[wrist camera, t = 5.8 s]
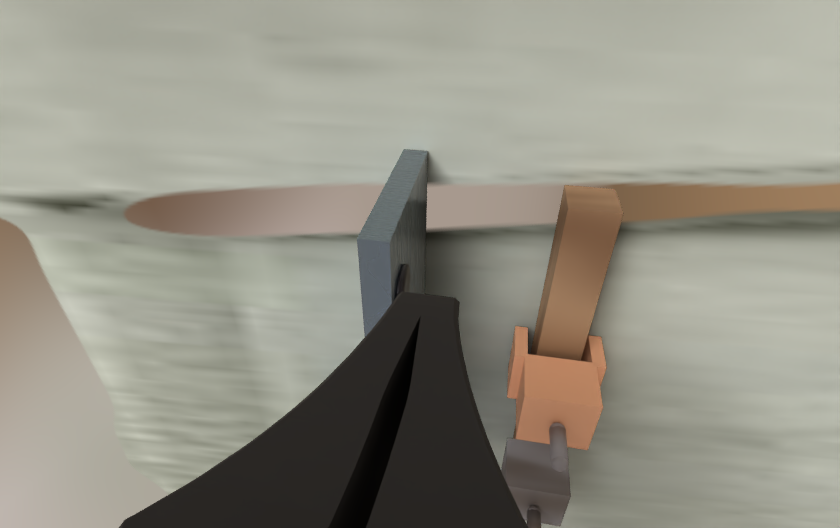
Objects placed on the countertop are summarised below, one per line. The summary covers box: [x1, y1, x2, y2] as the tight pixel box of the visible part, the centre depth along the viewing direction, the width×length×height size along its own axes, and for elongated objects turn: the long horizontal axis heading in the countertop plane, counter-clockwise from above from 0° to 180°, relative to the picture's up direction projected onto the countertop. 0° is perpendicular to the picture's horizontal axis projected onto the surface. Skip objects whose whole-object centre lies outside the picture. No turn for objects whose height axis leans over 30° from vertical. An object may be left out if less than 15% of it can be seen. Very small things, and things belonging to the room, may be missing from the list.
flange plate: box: [357, 149, 428, 337], centre depth 22 cm, size 18×1×7 cm, turn 179°
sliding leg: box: [507, 326, 607, 472], centre depth 22 cm, size 3×4×6 cm
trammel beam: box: [501, 185, 624, 528], centre depth 22 cm, size 18×3×7 cm, turn 179°
